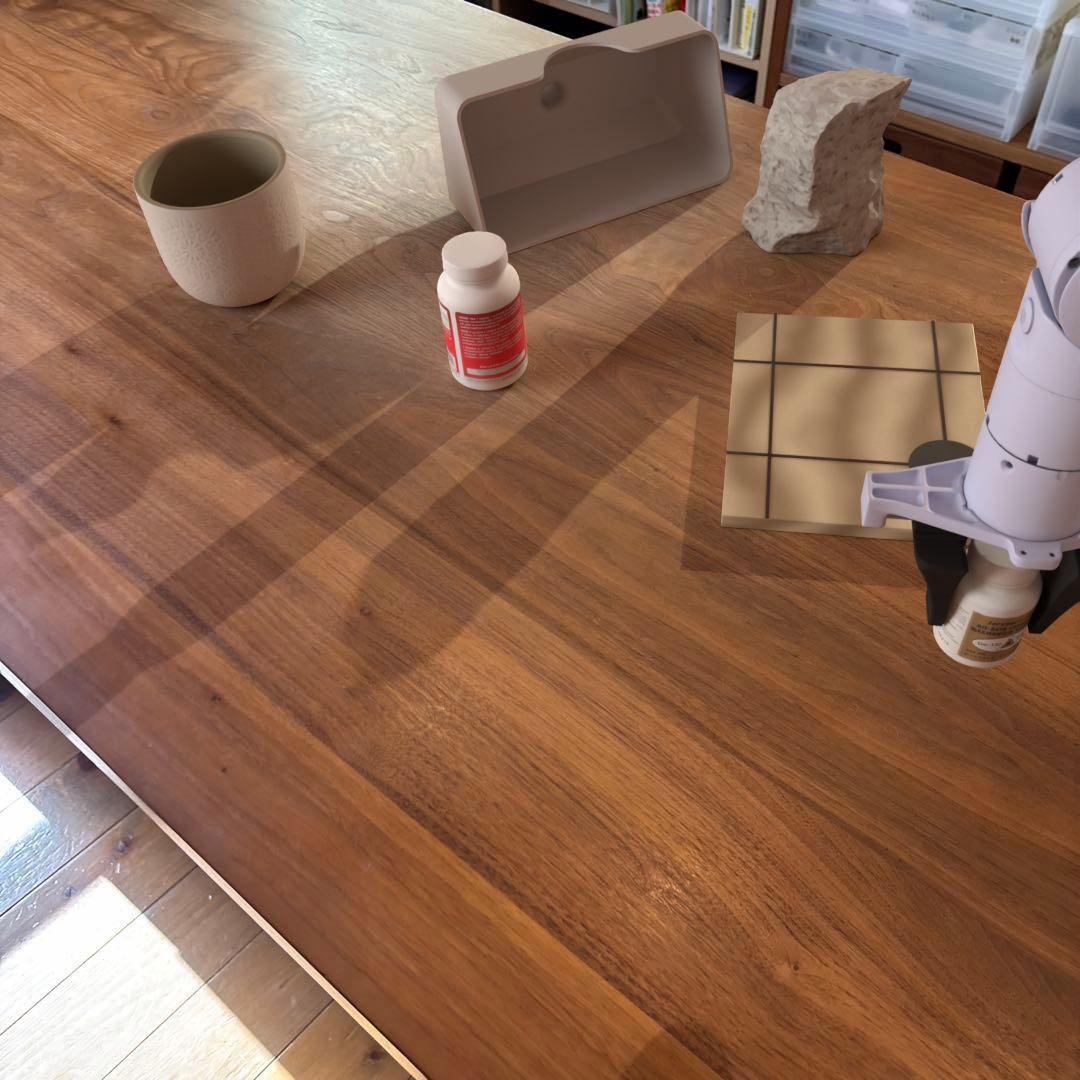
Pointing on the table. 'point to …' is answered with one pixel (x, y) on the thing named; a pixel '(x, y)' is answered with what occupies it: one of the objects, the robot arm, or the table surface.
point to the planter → (224, 215)
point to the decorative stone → (824, 163)
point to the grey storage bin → (585, 130)
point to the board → (842, 416)
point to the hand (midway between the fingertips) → (982, 614)
